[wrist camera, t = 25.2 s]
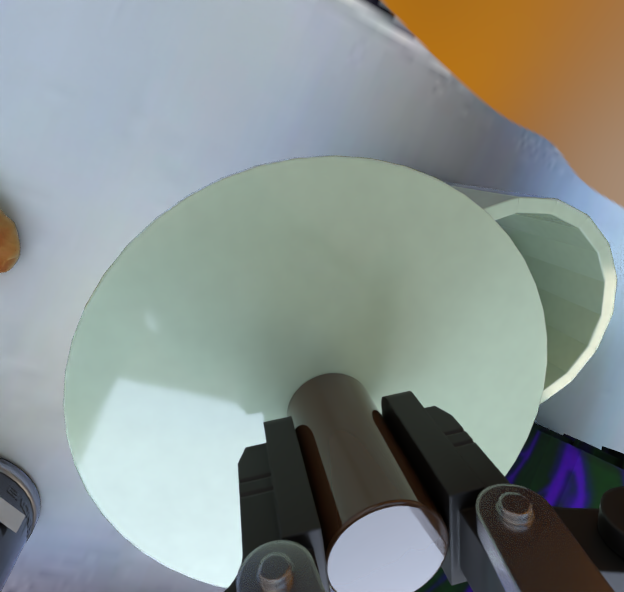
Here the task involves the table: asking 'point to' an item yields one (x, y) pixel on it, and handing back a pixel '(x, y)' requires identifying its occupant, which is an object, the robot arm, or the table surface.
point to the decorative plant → (555, 479)
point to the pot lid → (301, 361)
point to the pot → (558, 273)
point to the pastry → (8, 243)
